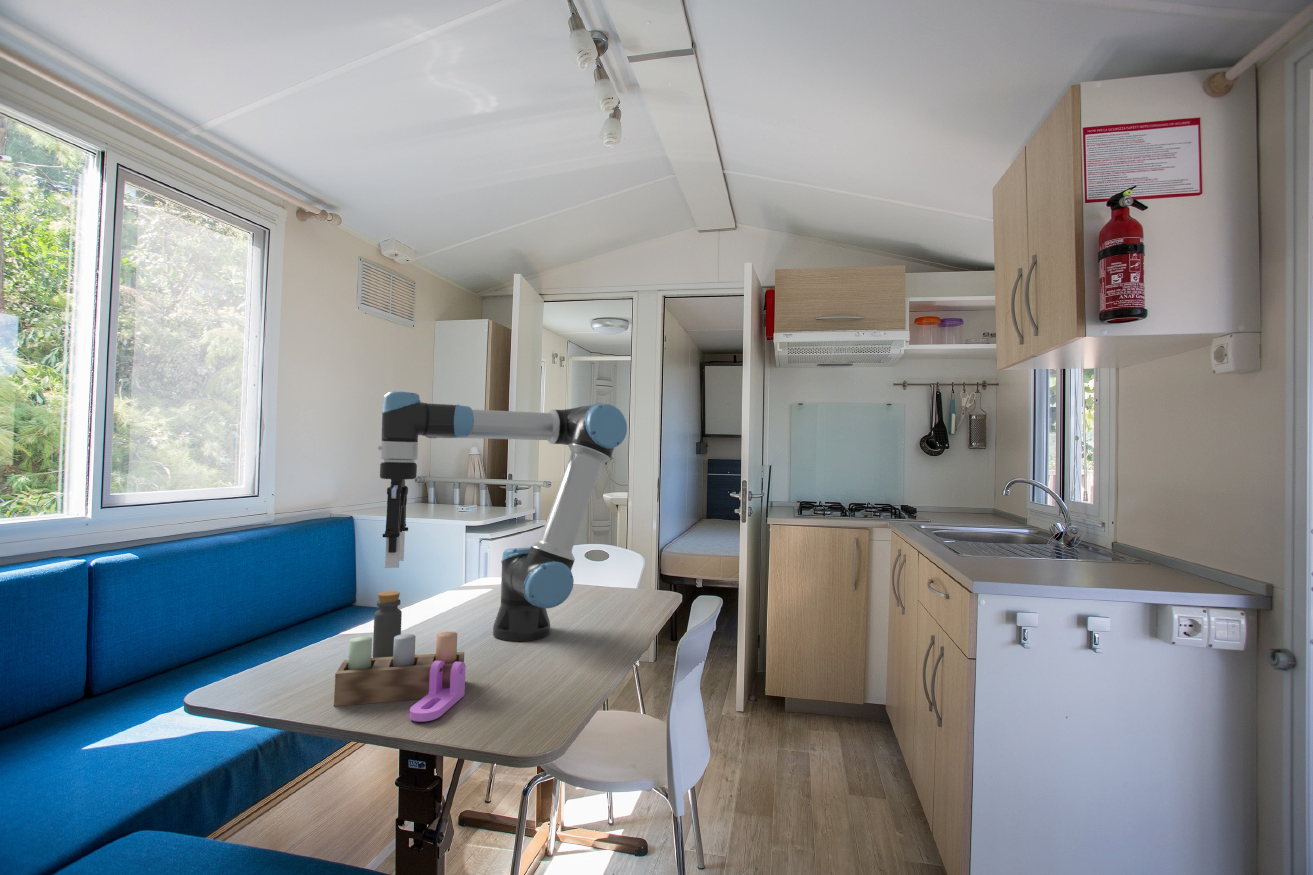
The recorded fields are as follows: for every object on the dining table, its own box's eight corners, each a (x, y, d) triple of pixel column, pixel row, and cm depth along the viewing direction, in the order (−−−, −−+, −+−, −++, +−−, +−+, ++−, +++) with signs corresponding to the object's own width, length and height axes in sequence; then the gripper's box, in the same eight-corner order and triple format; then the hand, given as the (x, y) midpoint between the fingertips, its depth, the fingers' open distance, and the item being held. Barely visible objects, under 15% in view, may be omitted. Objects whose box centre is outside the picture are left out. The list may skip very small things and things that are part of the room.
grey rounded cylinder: (415, 665, 122) (416, 633, 122) (413, 672, 118) (414, 639, 118) (393, 667, 120) (395, 634, 121) (391, 673, 117) (392, 640, 117)
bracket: (437, 693, 118) (438, 657, 119) (464, 694, 118) (465, 659, 118) (403, 720, 106) (405, 680, 106) (433, 722, 105) (435, 681, 105)
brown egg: (456, 662, 124) (457, 631, 124) (455, 669, 120) (457, 636, 120) (436, 664, 123) (437, 632, 123) (434, 670, 119) (436, 637, 119)
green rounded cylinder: (372, 668, 119) (373, 635, 119) (368, 675, 115) (370, 641, 116) (350, 670, 118) (351, 636, 118) (346, 677, 114) (347, 643, 114)
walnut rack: (463, 680, 126) (464, 651, 126) (462, 694, 118) (463, 664, 119) (342, 690, 119) (344, 659, 120) (333, 706, 112) (335, 673, 112)
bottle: (389, 663, 135) (392, 596, 136) (366, 660, 137) (369, 594, 137) (405, 654, 141) (407, 591, 142) (383, 652, 142) (386, 589, 143)
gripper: (387, 460, 142) (383, 556, 141) (372, 461, 122) (368, 573, 121) (420, 461, 144) (417, 555, 143) (412, 462, 124) (407, 572, 123)
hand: (394, 563), depth 132 cm, fingers open, 8 cm apart
